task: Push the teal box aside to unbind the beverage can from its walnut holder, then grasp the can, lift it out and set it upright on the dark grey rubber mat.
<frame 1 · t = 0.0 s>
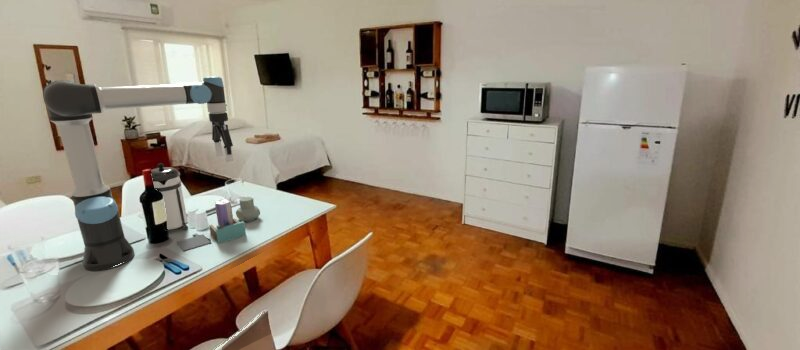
hand: (224, 158, 171), 28 cm above the table, fingers open, 13 cm apart
coffee press: (172, 227, 166), on the table
teal box: (231, 230, 154), point 4 cm above the table, slide at 0.0 cm
beverage can: (227, 234, 159), on the table
holder: (227, 234, 159), on the table
air freshener: (248, 219, 175), on the table
mat: (193, 242, 152), on the table
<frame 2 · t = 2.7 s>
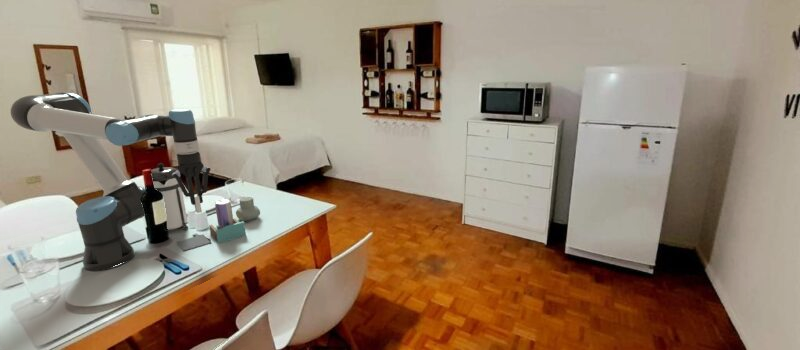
hand: (198, 211, 143), 16 cm above the table, fingers closed
nothing on the table moved.
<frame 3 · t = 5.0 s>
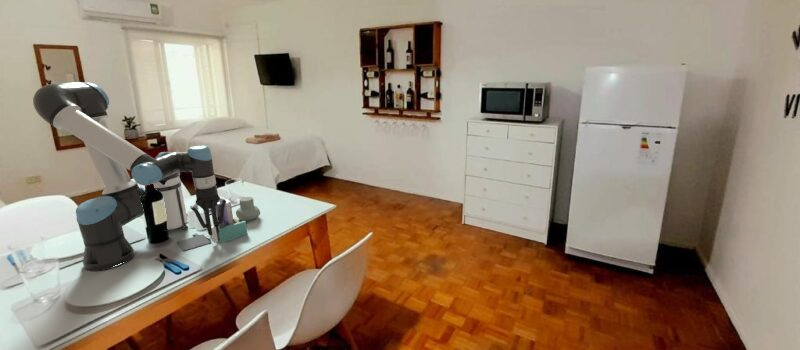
hand: (215, 241, 149), 2 cm above the table, fingers closed
teal box: (232, 230, 155), point 4 cm above the table, slide at 0.7 cm, touching gripper
everything else where it was.
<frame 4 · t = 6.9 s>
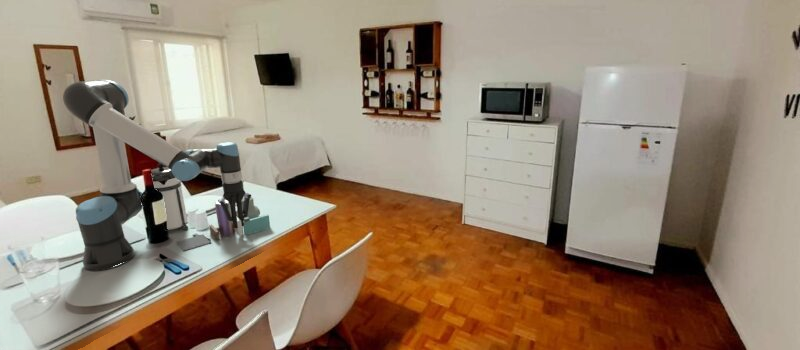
hand: (240, 233, 156), 1 cm above the table, fingers closed
teal box: (256, 223, 161), point 4 cm above the table, slide at 10.8 cm, touching gripper
everything else where it was.
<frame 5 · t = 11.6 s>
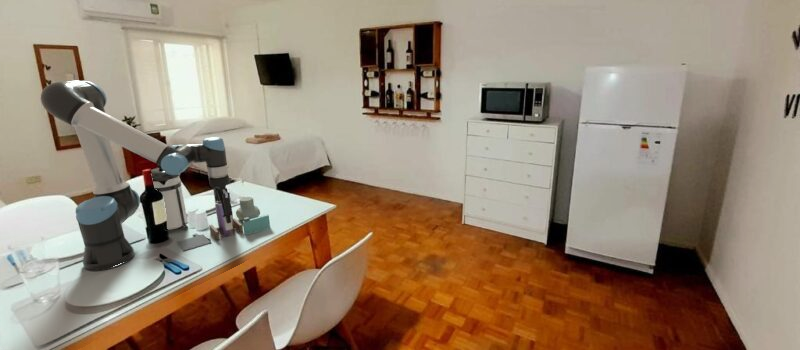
hand: (226, 226, 158), 3 cm above the table, fingers closed on beverage can, 6 cm apart
teal box: (256, 223, 161), point 4 cm above the table, slide at 10.8 cm
beverage can: (227, 234, 159), on the table, touching gripper
everything else where it was.
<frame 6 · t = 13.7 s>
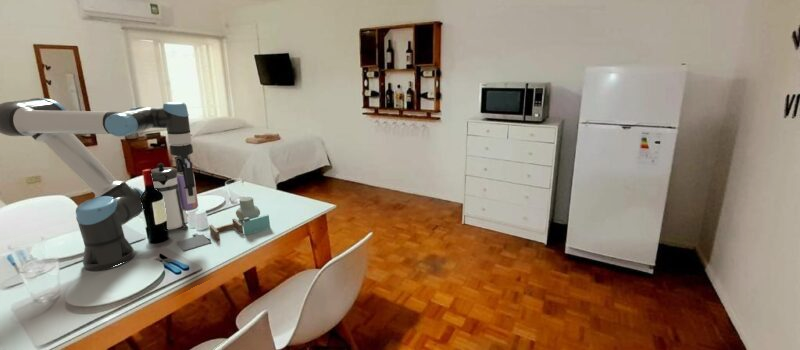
hand: (188, 200, 147), 18 cm above the table, fingers closed on beverage can, 6 cm apart
beverage can: (190, 208, 148), point 15 cm above the table, touching gripper
everything else where it was.
when the fingers open (5 cm above the table, at t = 16.3 s): beverage can drops 1 cm, resting on mat.
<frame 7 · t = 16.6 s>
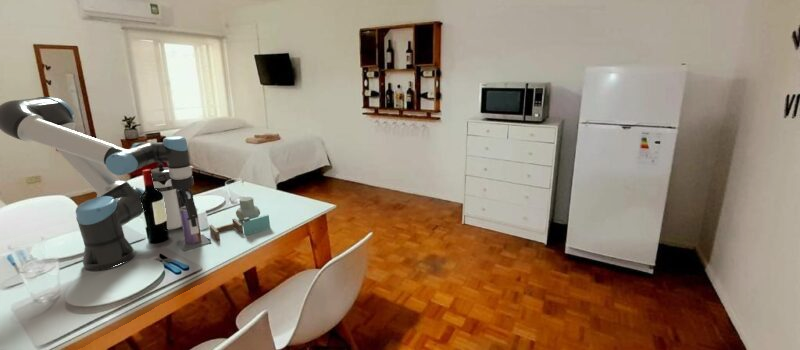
hand: (191, 228, 150), 6 cm above the table, fingers open, 10 cm apart
beverage can: (193, 242, 151), resting on mat
everything else where it was.
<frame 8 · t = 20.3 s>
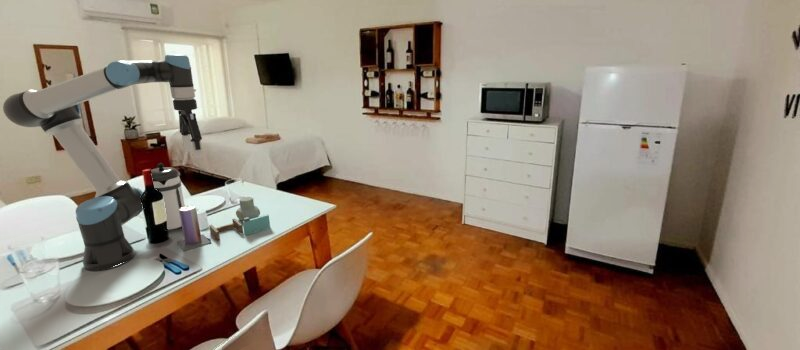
hand: (193, 154, 142), 37 cm above the table, fingers open, 13 cm apart
nothing on the table moved.
at the end: teal box slide at 10.8 cm; beverage can inside the target area on the mat (0.0 cm from its centre), point 0.2 cm above the mat's base; beverage can tilted 0° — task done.
